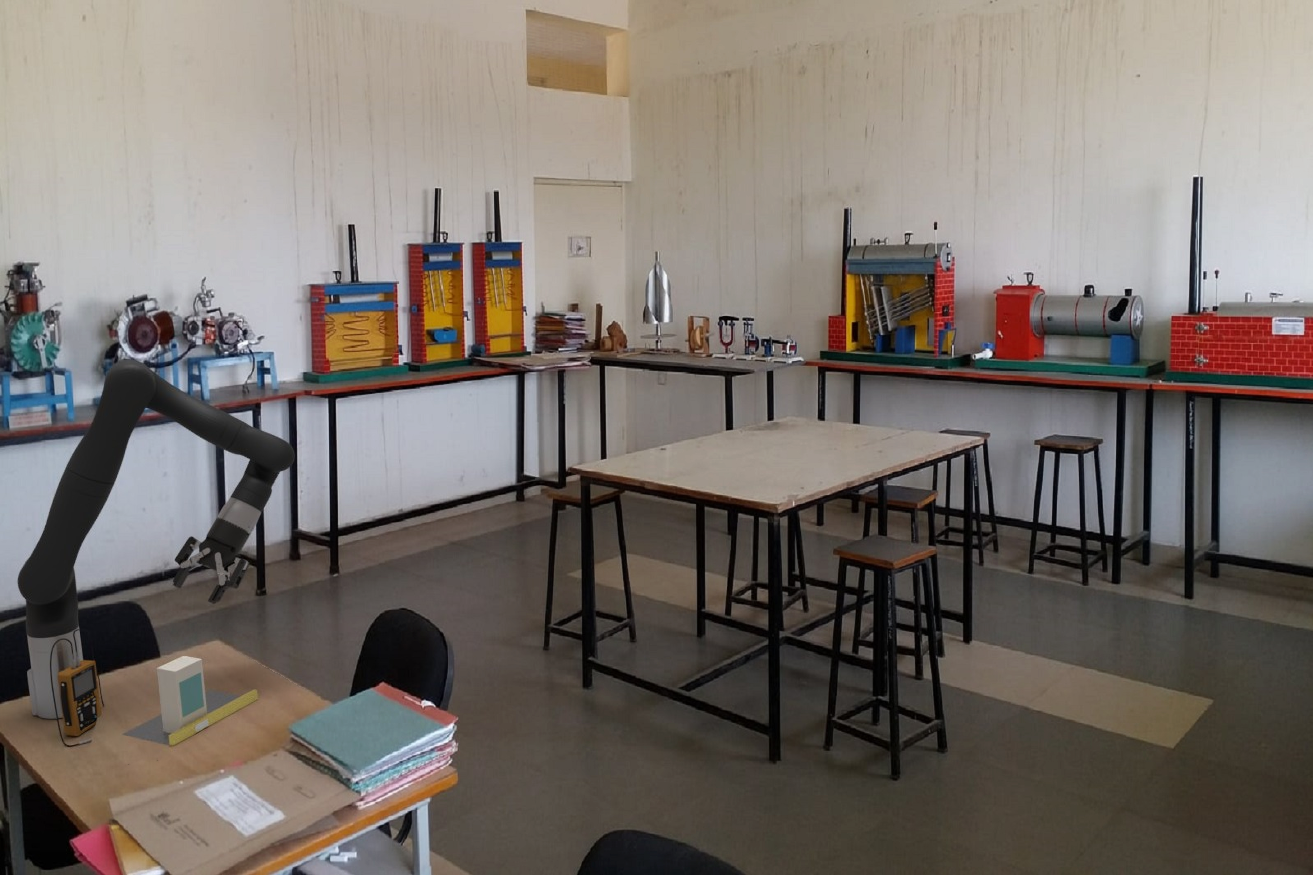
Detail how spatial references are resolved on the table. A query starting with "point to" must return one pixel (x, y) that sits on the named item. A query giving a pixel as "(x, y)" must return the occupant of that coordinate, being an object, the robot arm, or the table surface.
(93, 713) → the multimeter
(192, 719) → the carton
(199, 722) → the shelf
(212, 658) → the table surface
